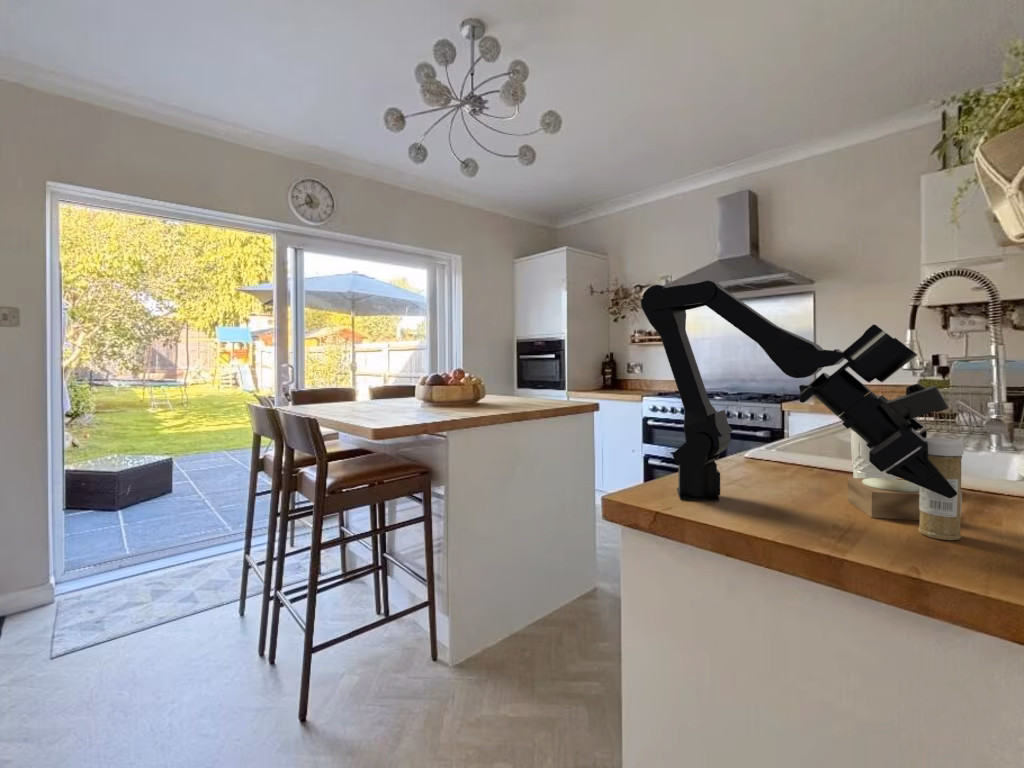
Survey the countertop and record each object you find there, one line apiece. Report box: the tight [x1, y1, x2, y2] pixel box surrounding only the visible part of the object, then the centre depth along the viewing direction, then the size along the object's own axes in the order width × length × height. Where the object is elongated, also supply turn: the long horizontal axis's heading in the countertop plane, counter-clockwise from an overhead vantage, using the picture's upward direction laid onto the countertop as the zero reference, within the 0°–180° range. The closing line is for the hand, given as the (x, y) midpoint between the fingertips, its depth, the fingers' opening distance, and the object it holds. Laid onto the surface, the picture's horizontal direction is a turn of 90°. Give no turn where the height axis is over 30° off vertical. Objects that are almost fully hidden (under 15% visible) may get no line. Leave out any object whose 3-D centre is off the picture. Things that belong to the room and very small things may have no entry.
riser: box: [846, 477, 920, 521], centre depth 79 cm, size 9×9×4 cm
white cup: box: [850, 429, 898, 479], centre depth 95 cm, size 8×8×10 cm
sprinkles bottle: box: [917, 437, 965, 541], centre depth 67 cm, size 5×5×14 cm
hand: (952, 488), depth 67 cm, fingers open, 9 cm apart
